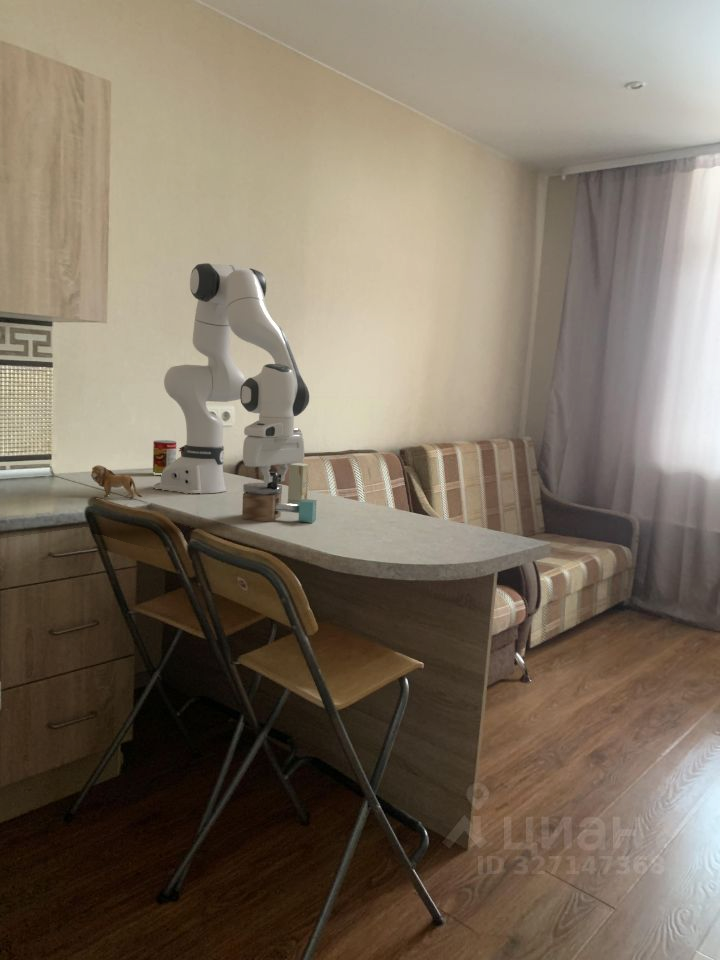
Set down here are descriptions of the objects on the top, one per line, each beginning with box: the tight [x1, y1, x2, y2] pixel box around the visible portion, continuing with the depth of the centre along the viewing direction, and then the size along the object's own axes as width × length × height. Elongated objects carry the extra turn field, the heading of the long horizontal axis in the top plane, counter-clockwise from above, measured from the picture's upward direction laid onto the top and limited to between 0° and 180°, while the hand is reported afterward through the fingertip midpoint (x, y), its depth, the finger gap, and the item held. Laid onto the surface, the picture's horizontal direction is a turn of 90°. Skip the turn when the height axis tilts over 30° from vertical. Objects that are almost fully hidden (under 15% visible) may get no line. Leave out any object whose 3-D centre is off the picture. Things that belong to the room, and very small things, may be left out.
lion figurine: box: [90, 464, 143, 500], centre depth 209 cm, size 15×5×9 cm, turn 89°
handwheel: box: [242, 471, 283, 495], centre depth 189 cm, size 10×10×6 cm
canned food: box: [152, 439, 177, 473], centre depth 258 cm, size 8×8×12 cm
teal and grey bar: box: [275, 498, 317, 523], centre depth 190 cm, size 19×4×5 cm, turn 80°
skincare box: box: [287, 462, 310, 505], centre depth 211 cm, size 6×4×12 cm
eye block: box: [241, 492, 282, 522], centre depth 190 cm, size 8×8×7 cm
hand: (274, 482), depth 187 cm, fingers open, 3 cm apart
